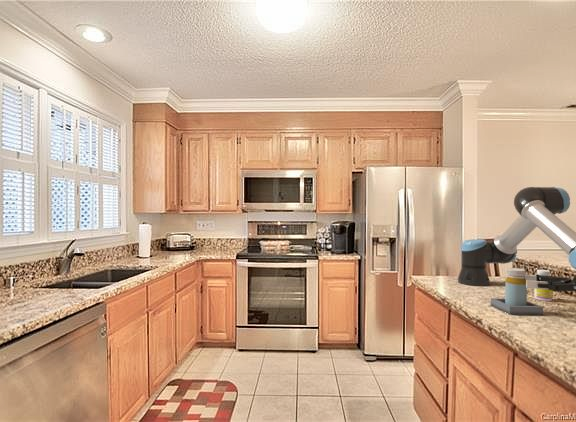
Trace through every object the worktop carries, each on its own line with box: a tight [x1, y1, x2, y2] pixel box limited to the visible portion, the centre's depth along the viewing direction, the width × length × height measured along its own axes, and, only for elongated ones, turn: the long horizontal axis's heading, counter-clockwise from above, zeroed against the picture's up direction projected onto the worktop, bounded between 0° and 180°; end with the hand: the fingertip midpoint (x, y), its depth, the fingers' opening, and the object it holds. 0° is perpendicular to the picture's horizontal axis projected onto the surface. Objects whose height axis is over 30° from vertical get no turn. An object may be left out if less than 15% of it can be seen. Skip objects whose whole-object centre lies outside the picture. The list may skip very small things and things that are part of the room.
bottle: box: [504, 267, 528, 306], centre depth 138 cm, size 7×7×15 cm
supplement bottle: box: [533, 269, 554, 302], centre depth 154 cm, size 7×7×13 cm
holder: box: [490, 297, 544, 316], centre depth 138 cm, size 12×12×3 cm
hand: (521, 280), depth 136 cm, fingers open, 13 cm apart
